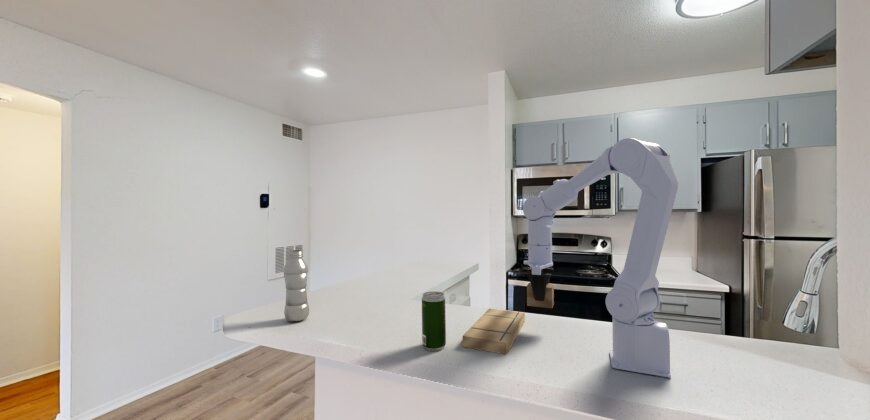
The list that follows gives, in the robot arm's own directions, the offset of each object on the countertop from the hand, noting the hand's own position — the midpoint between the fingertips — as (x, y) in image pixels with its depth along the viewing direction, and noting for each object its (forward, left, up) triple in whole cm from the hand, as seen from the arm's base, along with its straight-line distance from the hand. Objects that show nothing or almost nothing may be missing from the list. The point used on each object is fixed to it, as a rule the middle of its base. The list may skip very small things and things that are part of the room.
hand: (540, 298), depth 84 cm
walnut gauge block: (0, 0, -2) cm, 2 cm away
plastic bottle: (+65, +18, -9) cm, 68 cm away
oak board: (+10, +5, -8) cm, 14 cm away
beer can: (+21, +19, -9) cm, 30 cm away
